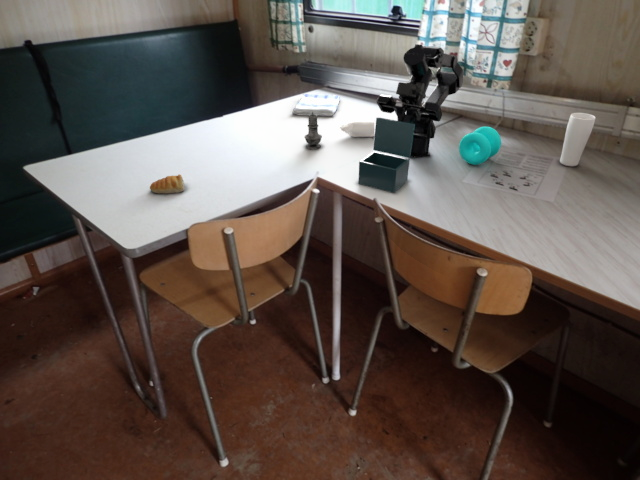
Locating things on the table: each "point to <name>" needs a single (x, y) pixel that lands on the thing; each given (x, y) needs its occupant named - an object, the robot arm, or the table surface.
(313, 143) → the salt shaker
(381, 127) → the green box lid
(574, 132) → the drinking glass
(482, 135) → the donuts
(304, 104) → the dish towel
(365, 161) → the open-top green box
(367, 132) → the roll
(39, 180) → the table surface
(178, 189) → the pastry
